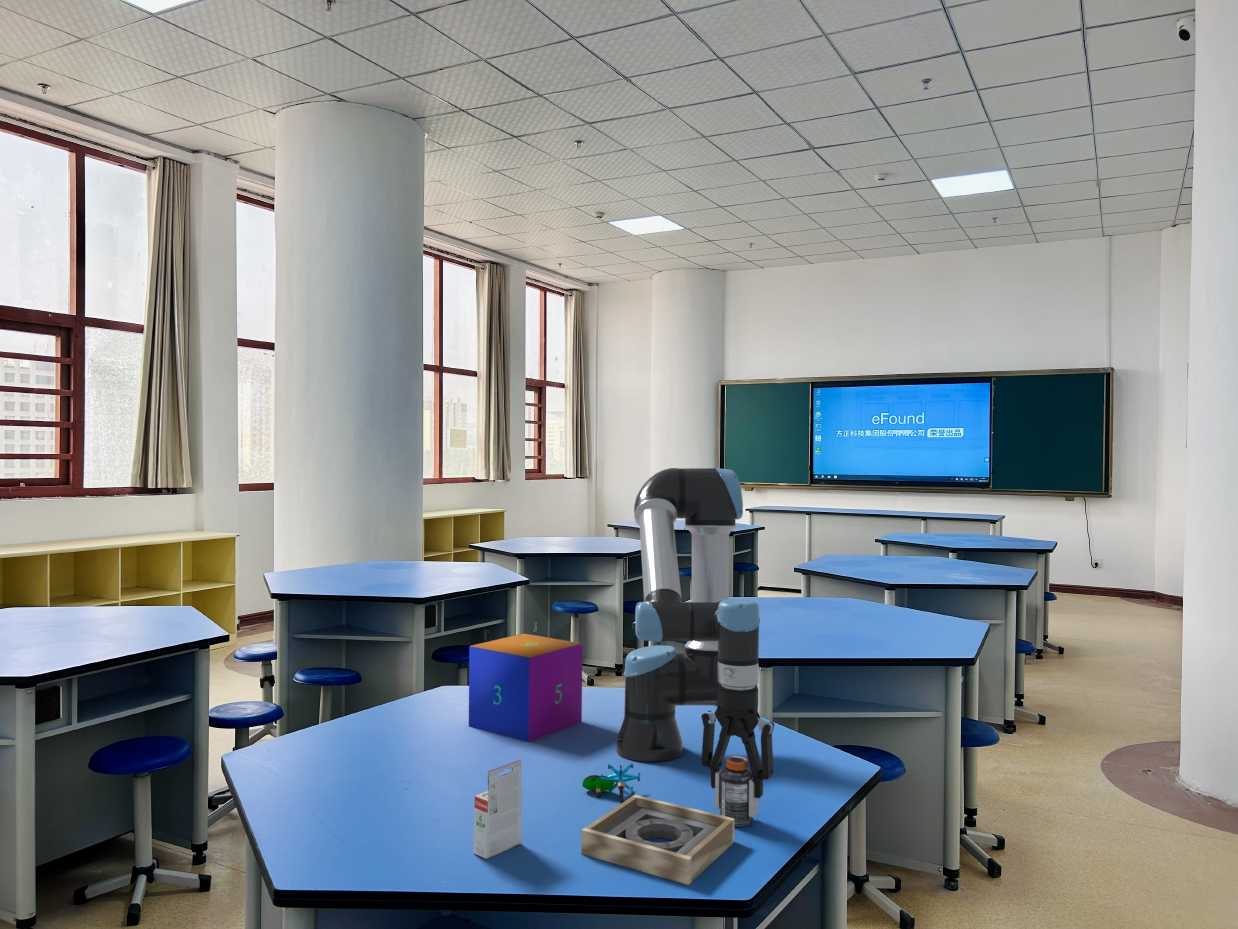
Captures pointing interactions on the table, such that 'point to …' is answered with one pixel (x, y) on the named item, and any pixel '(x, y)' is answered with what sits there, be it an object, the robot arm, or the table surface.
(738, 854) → the table surface
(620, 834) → the bore box
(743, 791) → the pill bottle
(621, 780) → the stick construction toy
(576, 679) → the cube
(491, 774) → the ink box
